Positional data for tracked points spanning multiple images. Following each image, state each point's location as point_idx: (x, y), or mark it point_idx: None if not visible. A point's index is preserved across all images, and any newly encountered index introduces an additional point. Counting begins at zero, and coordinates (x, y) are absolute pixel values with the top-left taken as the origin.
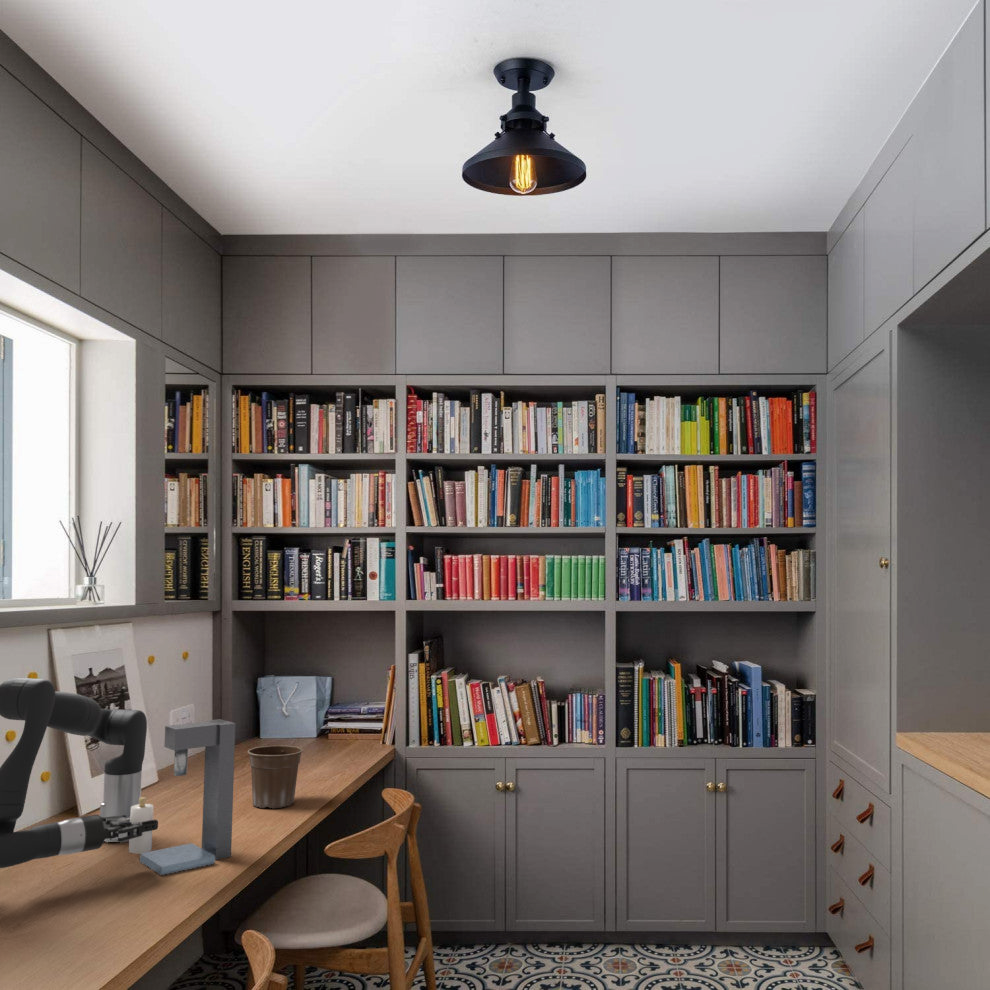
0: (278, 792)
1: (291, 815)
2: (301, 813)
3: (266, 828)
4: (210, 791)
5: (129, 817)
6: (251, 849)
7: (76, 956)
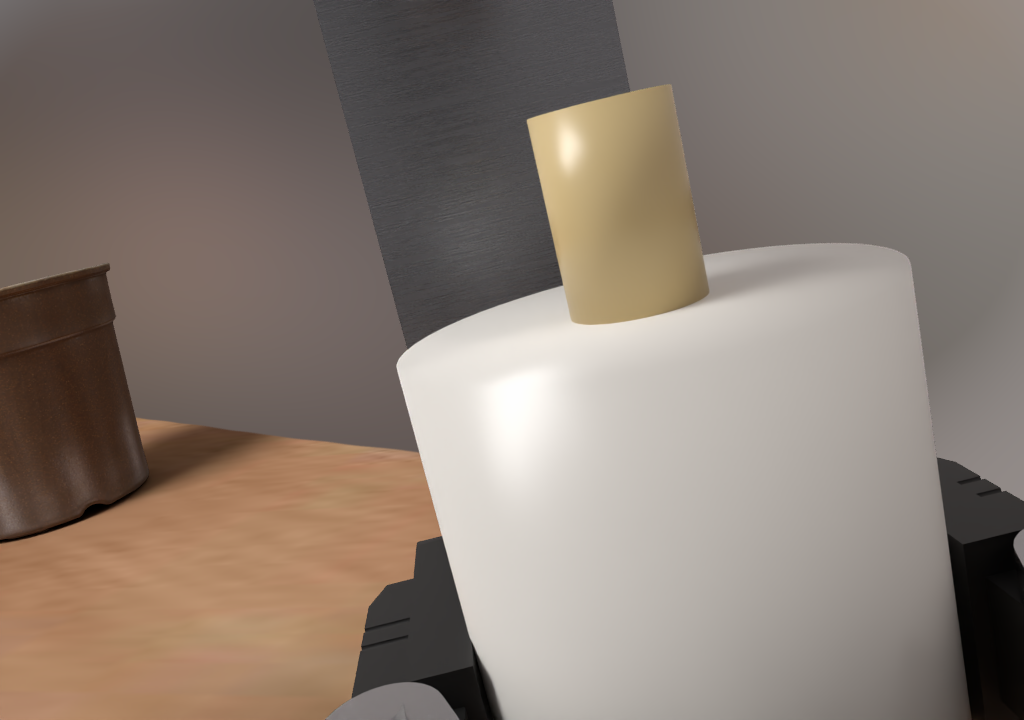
0: (115, 429)
1: (253, 466)
2: (262, 452)
3: (331, 503)
4: (503, 189)
5: (446, 716)
6: None
7: None
